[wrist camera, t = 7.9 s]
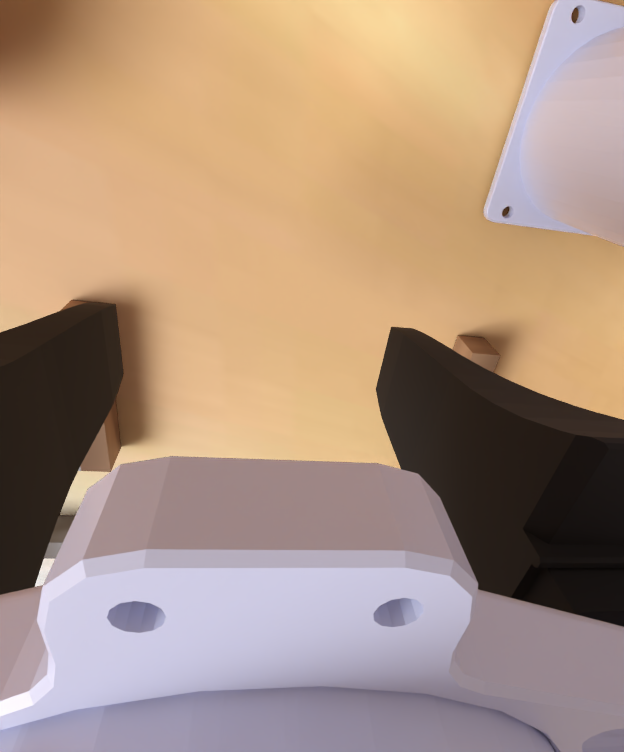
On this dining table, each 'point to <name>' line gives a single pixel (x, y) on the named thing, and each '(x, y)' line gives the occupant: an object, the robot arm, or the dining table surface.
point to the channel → (109, 437)
